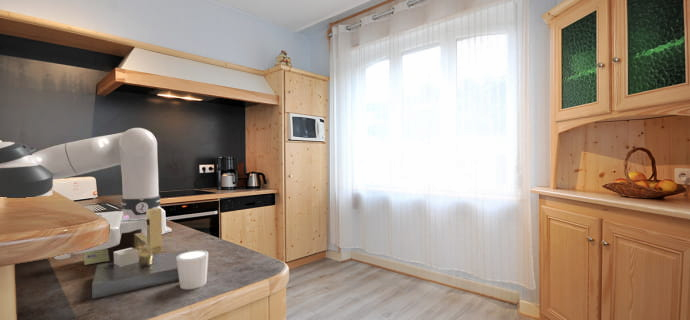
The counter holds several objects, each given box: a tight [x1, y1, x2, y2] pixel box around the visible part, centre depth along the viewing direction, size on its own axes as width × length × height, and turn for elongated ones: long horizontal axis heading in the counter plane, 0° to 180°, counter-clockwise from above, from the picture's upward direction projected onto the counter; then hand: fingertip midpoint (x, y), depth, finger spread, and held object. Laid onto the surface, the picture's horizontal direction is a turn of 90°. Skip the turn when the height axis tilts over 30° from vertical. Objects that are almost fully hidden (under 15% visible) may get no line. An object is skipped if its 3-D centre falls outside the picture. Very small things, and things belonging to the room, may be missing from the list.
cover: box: [114, 248, 139, 267], centre depth 79 cm, size 4×4×3 cm
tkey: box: [134, 208, 163, 266], centre depth 77 cm, size 16×3×15 cm, turn 46°
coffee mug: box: [107, 229, 142, 263], centre depth 89 cm, size 12×9×10 cm
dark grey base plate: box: [91, 249, 189, 300], centre depth 78 cm, size 14×20×3 cm
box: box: [83, 215, 129, 266], centre depth 91 cm, size 10×6×12 cm, turn 125°
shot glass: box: [176, 249, 209, 290], centre depth 74 cm, size 7×7×7 cm
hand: (146, 223), depth 71 cm, fingers closed
